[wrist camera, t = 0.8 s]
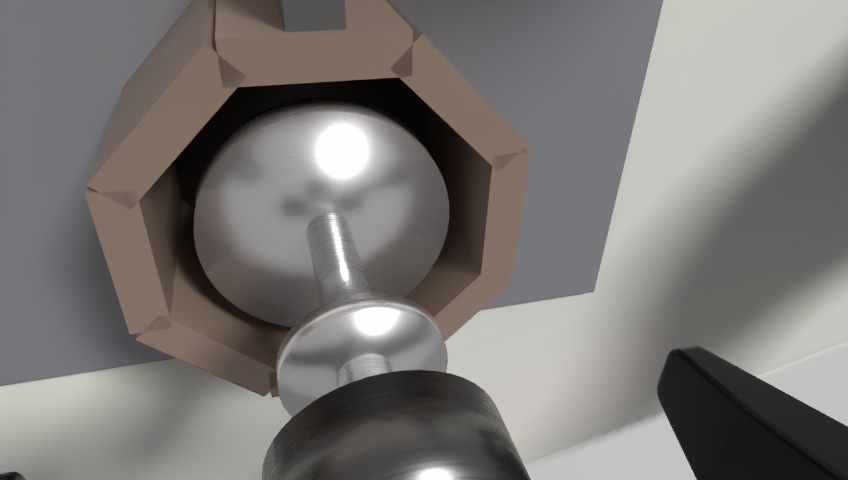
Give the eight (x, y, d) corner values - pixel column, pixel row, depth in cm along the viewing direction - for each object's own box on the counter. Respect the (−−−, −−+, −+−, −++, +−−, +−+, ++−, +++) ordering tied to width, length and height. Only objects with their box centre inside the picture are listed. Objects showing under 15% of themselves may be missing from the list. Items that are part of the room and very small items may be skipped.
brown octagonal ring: (468, -147, 13) (570, -133, 10) (444, 247, 19) (501, 356, 15) (60, -158, 12) (-26, -148, 8) (171, 282, 17) (157, 417, 14)
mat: (694, -165, 15) (702, -164, 15) (589, 286, 23) (593, 291, 22) (-337, -205, 10) (-349, -206, 10) (-20, 381, 18) (-23, 389, 18)
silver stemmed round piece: (444, 88, 12) (681, 371, 6) (434, 289, 15) (586, 625, 9) (171, 106, 11) (102, 488, 5) (217, 321, 14) (212, 737, 8)
